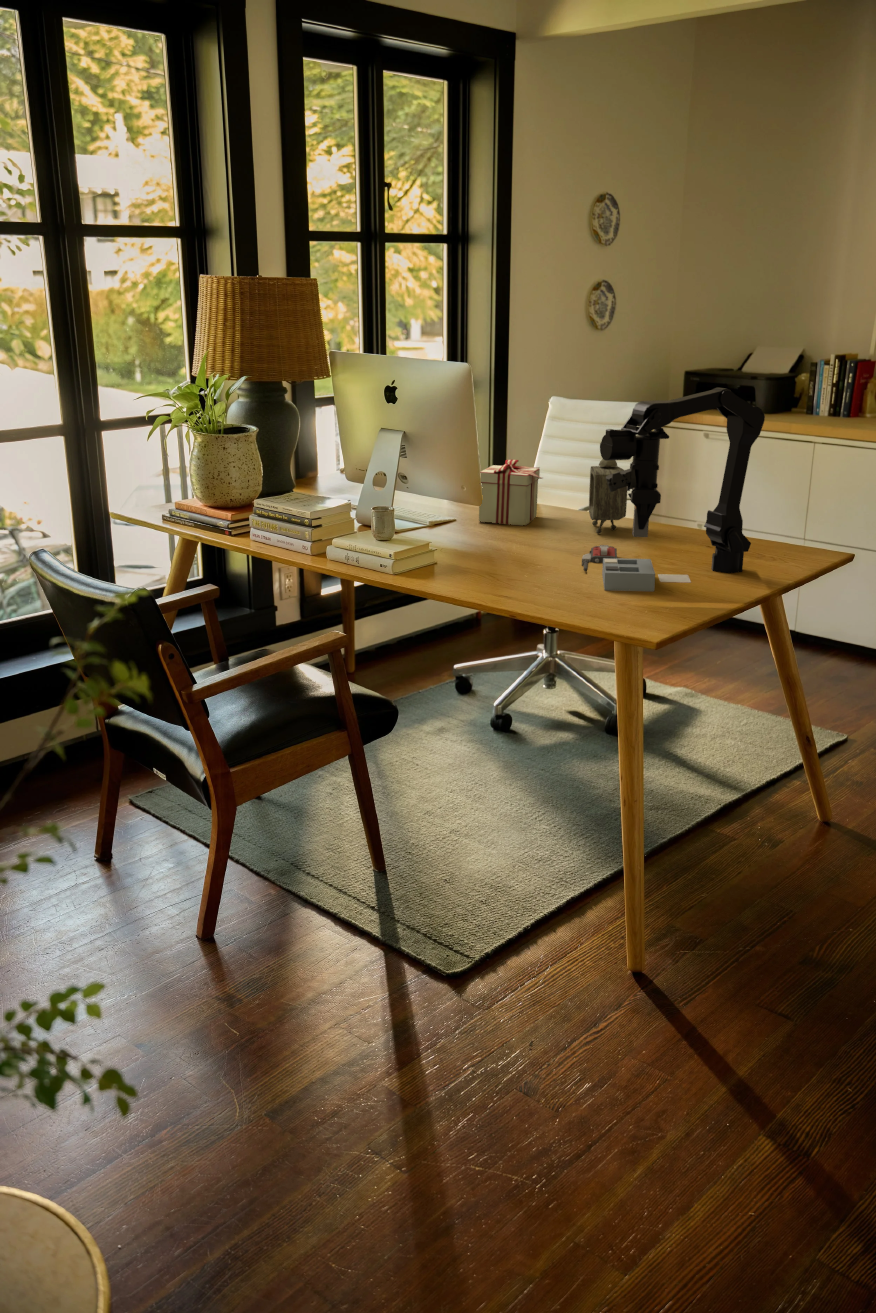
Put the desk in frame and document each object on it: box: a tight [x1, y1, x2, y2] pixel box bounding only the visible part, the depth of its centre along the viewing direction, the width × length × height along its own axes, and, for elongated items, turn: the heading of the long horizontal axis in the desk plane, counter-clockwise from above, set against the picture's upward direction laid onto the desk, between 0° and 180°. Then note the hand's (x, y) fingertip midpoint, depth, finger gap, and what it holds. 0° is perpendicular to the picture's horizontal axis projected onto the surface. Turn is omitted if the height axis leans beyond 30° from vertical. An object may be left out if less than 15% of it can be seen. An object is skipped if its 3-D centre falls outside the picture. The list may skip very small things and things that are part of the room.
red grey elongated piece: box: [581, 544, 619, 572], centre depth 269 cm, size 9×4×20 cm
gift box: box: [478, 459, 543, 526], centre depth 320 cm, size 17×18×17 cm
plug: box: [632, 504, 650, 538], centre depth 247 cm, size 3×3×8 cm
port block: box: [601, 557, 656, 592], centre depth 248 cm, size 11×14×5 cm
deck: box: [657, 573, 692, 584], centre depth 252 cm, size 7×7×1 cm
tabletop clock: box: [588, 458, 628, 535], centre depth 303 cm, size 14×9×25 cm, turn 178°
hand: (640, 527), depth 248 cm, fingers closed on plug, 3 cm apart
